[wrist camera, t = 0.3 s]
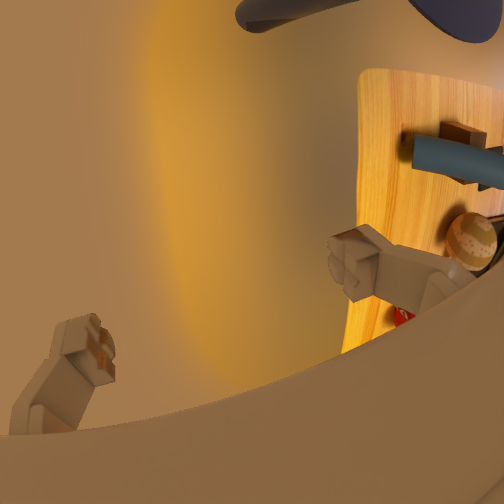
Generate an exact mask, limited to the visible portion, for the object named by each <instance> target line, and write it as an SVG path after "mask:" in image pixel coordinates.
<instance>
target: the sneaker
mask: <svg viewBox="0 0 504 504" xmlns="http://www.w3.org/2000/svg"><path fill="white" fill-rule="evenodd" d="M502 260H504V242H503V244H502V246H501V248H500V249H499V251H498V252H497V254H496V255H495V257H494V259H493V260H492V262H491V264H490V266H489V270H490V269H491V268H493V267H494V266H495V265H497V264H498V263H500V262H501V261H502Z"/></svg>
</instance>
